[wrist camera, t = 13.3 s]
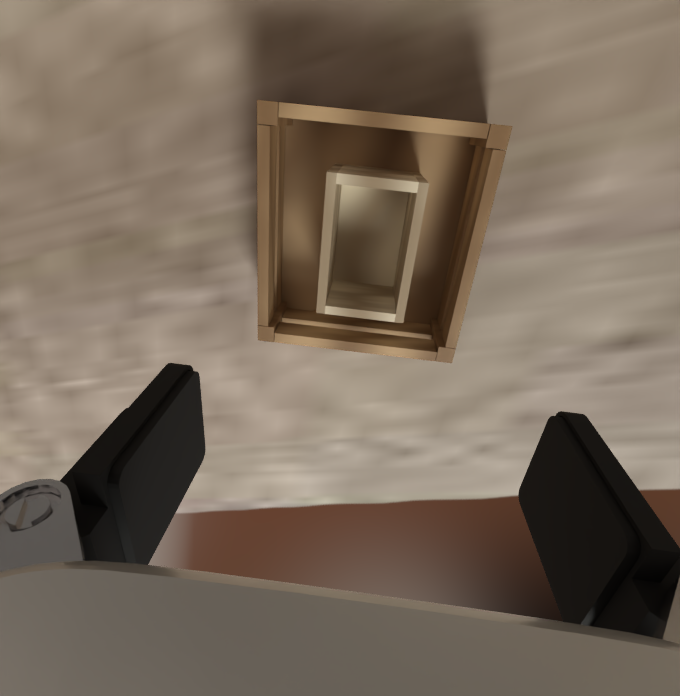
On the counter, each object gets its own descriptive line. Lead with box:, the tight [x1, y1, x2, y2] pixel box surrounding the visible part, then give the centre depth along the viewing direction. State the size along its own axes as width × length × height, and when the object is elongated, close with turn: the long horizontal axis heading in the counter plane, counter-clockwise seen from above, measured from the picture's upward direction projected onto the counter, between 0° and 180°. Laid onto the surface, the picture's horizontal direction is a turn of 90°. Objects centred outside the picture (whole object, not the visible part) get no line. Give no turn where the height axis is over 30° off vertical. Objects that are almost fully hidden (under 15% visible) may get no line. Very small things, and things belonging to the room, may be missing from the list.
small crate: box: [316, 163, 429, 323], centre depth 29 cm, size 6×9×6 cm, turn 174°
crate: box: [257, 100, 512, 363], centre depth 30 cm, size 14×16×6 cm
